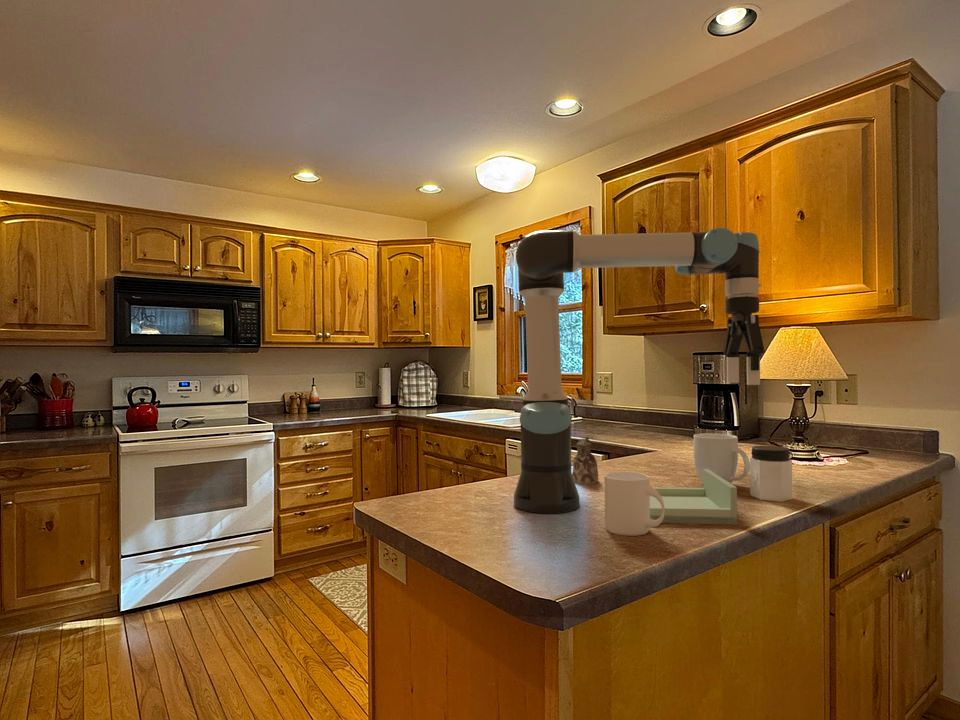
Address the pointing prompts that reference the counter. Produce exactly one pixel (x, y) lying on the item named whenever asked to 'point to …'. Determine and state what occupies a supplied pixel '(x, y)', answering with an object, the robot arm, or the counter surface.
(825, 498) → the counter surface
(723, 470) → the mug
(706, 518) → the tray
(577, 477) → the figurine
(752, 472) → the jar
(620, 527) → the mug
